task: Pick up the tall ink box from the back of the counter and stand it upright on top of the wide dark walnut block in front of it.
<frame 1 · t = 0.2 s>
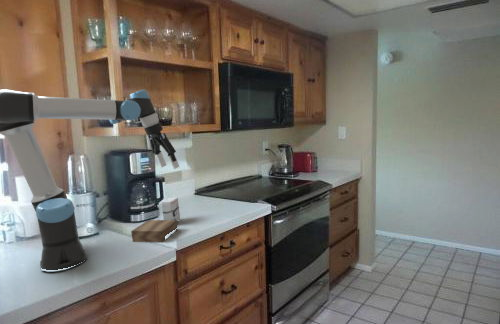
hand: (170, 167, 157), 27 cm above the worktop, tool tilted 15°, fingers open, 13 cm apart
ink box: (172, 223, 162), on the worktop
walnut block: (156, 236, 147), on the worktop
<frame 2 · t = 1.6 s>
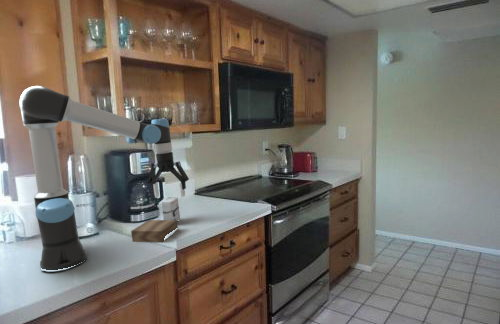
hand: (170, 196, 160), 13 cm above the worktop, tool pointing down, fingers open, 13 cm apart
nothing on the worktop moved.
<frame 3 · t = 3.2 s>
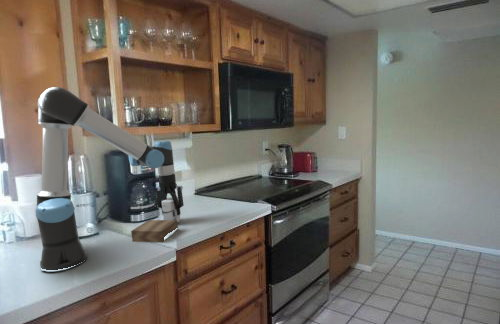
hand: (172, 221, 162), 1 cm above the worktop, tool pointing down, fingers closed on ink box, 5 cm apart
ink box: (172, 223, 162), on the worktop, touching gripper
everything else where it was.
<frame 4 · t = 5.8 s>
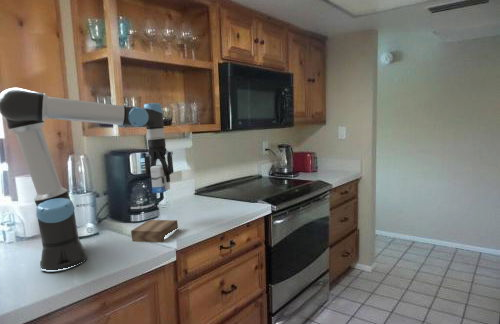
hand: (161, 189, 154), 18 cm above the worktop, tool pointing down, fingers closed on ink box, 5 cm apart
ink box: (161, 191, 154), point 17 cm above the worktop, touching gripper
everything else where it was.
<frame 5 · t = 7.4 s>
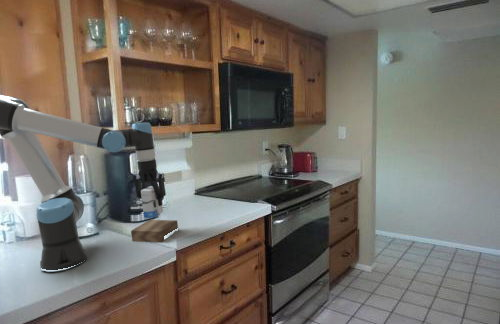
hand: (153, 213, 145), 10 cm above the worktop, tool pointing down, fingers closed on ink box, 5 cm apart
ink box: (153, 215, 145), point 9 cm above the worktop, touching gripper
everything else where it was.
when the fingers open (7 cm above the worktop, at t = 8.2 s): ink box drops 2 cm, point 4 cm above the worktop.
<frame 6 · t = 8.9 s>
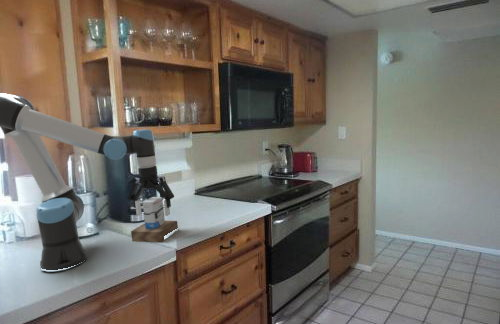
hand: (153, 215, 145), 9 cm above the worktop, tool pointing down, fingers open, 13 cm apart
ink box: (155, 226, 146), point 4 cm above the worktop
everything else where it was.
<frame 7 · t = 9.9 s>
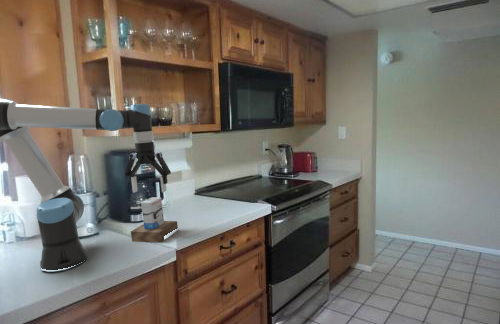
hand: (149, 191, 143), 20 cm above the worktop, tool pointing down, fingers open, 13 cm apart
ink box: (154, 226, 146), point 4 cm above the worktop, touching walnut block
walnut block: (155, 237, 146), on the worktop, touching ink box
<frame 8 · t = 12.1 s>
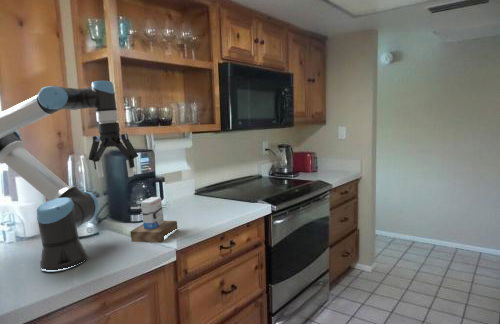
hand: (115, 176, 132), 29 cm above the worktop, tool pointing down, fingers open, 13 cm apart
nothing on the worktop moved.
at the end: ink box inside the target area on the walnut block (0.3 cm from its centre), point 4.9 cm above the walnut block's base; ink box tilted 2°; the gripper is holding nothing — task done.
